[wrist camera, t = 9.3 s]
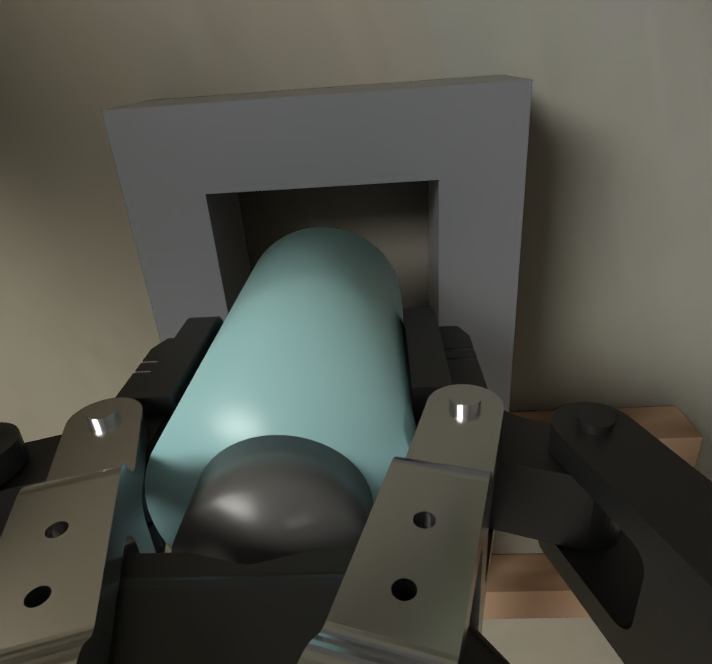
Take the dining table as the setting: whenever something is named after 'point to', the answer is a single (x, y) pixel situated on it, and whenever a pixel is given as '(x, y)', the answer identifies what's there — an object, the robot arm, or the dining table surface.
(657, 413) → the square wooden frame
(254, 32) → the dining table surface
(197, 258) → the port
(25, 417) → the dining table surface
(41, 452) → the robot arm
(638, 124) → the dining table surface
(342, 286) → the teal capped bottle
